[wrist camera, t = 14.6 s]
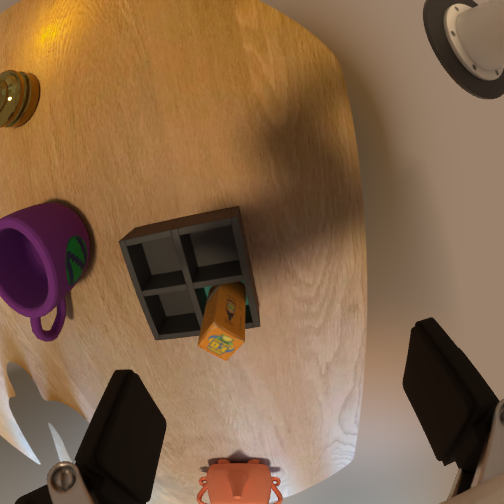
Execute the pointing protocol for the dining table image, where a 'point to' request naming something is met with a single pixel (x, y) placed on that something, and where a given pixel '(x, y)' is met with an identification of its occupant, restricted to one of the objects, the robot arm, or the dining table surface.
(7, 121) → the brass knobbed weight
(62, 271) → the mug
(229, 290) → the supplement box
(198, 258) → the rack
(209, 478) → the teapot
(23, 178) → the dining table surface
